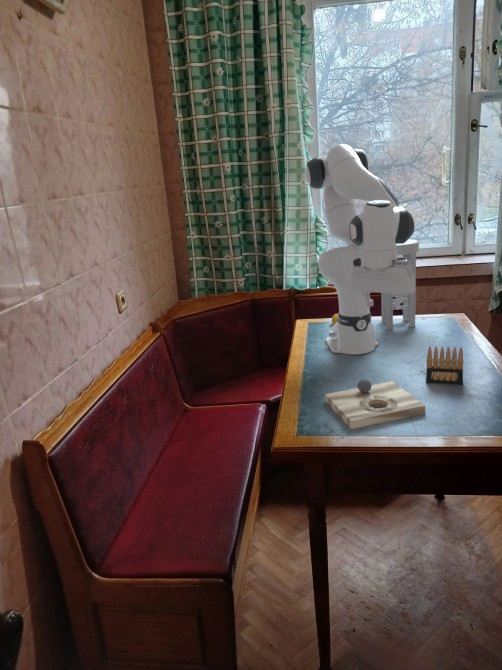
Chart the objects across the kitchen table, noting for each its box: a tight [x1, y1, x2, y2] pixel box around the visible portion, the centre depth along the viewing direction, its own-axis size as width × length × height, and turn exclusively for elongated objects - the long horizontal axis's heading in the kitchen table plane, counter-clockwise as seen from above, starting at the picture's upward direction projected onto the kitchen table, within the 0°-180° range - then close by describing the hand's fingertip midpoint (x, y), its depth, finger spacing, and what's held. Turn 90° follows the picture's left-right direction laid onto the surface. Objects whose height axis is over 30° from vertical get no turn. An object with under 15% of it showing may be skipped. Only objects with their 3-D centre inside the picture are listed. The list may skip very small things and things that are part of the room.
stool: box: [380, 238, 420, 330], centre depth 205 cm, size 16×16×35 cm
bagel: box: [331, 313, 339, 326], centre depth 216 cm, size 10×11×5 cm
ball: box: [357, 378, 372, 393], centre depth 146 cm, size 4×4×4 cm
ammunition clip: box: [425, 346, 464, 386], centre depth 151 cm, size 11×2×12 cm, turn 71°
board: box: [324, 380, 426, 430], centre depth 142 cm, size 18×22×2 cm
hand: (382, 307), depth 143 cm, fingers open, 8 cm apart
